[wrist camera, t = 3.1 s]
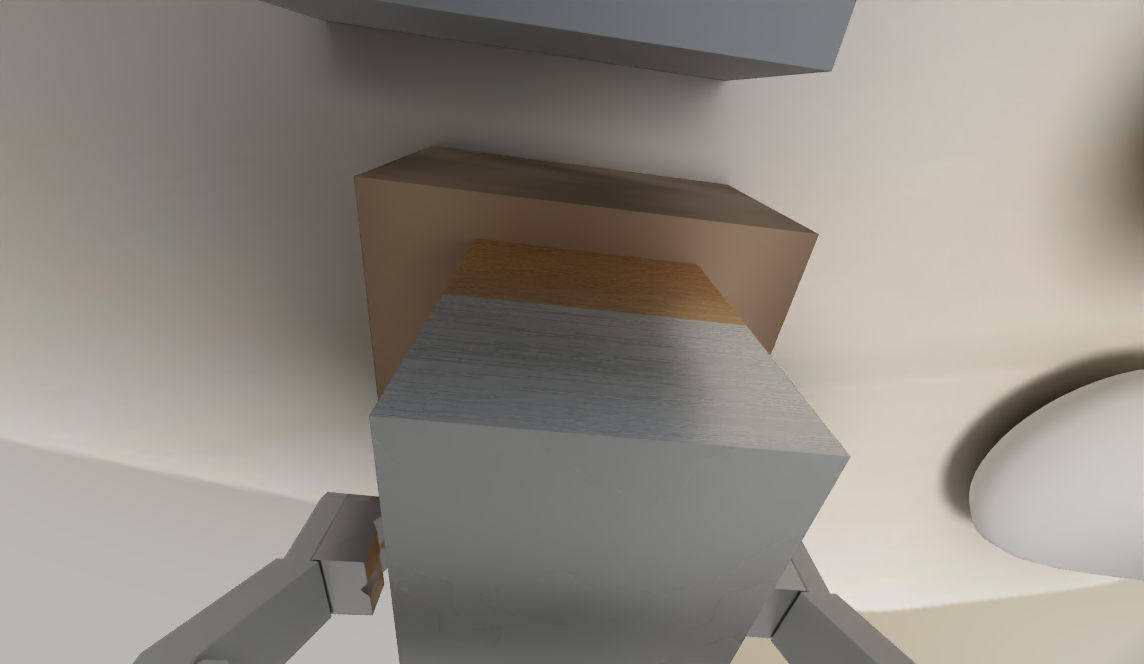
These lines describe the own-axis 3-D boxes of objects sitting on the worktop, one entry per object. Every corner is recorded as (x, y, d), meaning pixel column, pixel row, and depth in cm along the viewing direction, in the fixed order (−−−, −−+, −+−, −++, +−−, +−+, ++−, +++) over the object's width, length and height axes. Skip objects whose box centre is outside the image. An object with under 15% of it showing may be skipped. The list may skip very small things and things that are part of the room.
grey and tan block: (469, 571, 15) (419, 825, 10) (476, 238, 10) (368, 415, 4) (609, 580, 16) (633, 828, 10) (697, 264, 10) (850, 456, 5)
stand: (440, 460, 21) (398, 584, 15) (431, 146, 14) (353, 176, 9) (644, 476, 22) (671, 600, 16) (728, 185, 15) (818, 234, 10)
